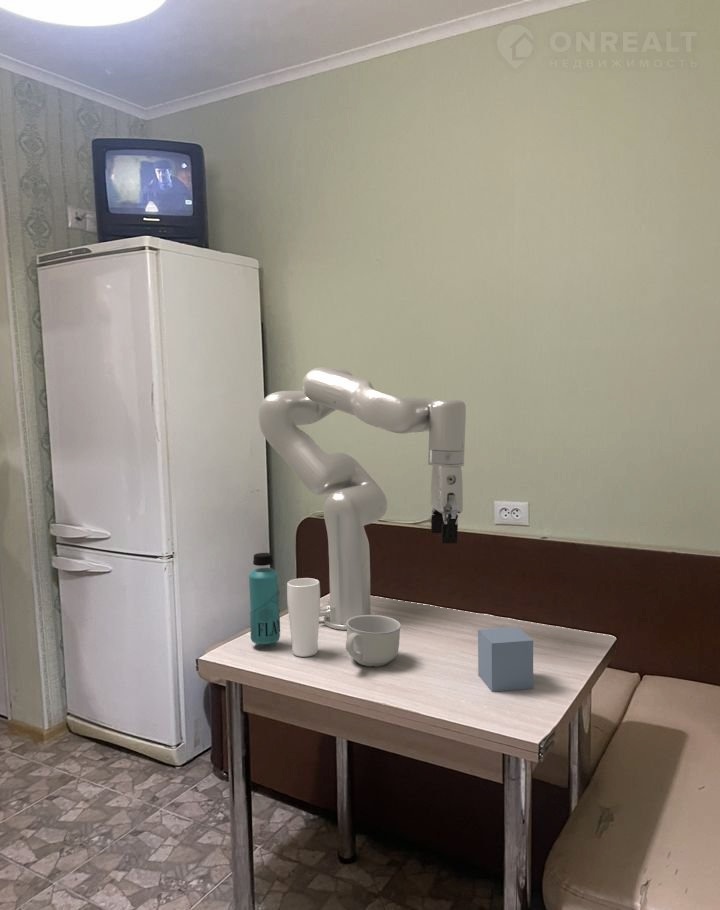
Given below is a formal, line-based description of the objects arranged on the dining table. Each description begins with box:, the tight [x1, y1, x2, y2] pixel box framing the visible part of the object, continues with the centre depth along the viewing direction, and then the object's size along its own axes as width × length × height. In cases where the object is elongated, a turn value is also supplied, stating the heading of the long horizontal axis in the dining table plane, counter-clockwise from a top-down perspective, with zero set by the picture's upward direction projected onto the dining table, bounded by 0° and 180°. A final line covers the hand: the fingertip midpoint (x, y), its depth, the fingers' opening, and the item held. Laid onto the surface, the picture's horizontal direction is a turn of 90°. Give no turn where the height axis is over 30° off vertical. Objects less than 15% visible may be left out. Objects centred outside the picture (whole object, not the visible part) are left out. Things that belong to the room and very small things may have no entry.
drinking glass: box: [286, 577, 321, 658], centre depth 144 cm, size 7×7×15 cm
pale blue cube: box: [477, 626, 534, 693], centre depth 128 cm, size 8×8×9 cm
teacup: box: [345, 614, 402, 667], centre depth 138 cm, size 14×11×8 cm
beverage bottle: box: [248, 552, 281, 645], centre depth 149 cm, size 6×7×20 cm
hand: (443, 537), depth 149 cm, fingers open, 9 cm apart
